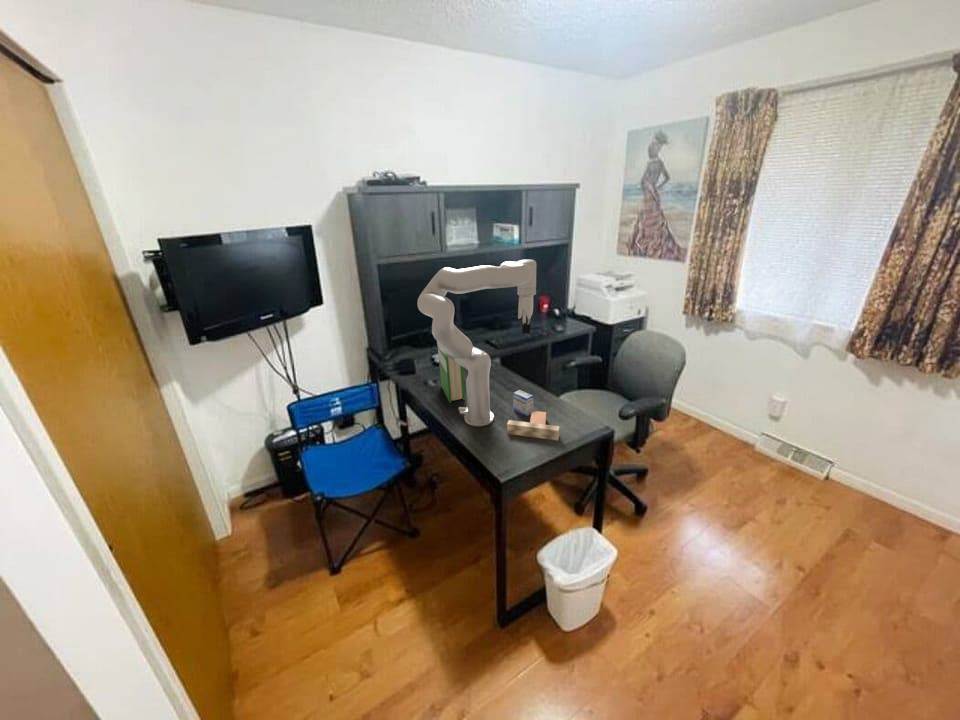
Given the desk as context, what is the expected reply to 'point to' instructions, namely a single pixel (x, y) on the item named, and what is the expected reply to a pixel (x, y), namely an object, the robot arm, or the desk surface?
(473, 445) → the desk surface
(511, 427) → the board
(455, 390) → the hardback book
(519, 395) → the medicine box
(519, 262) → the robot arm
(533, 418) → the block
